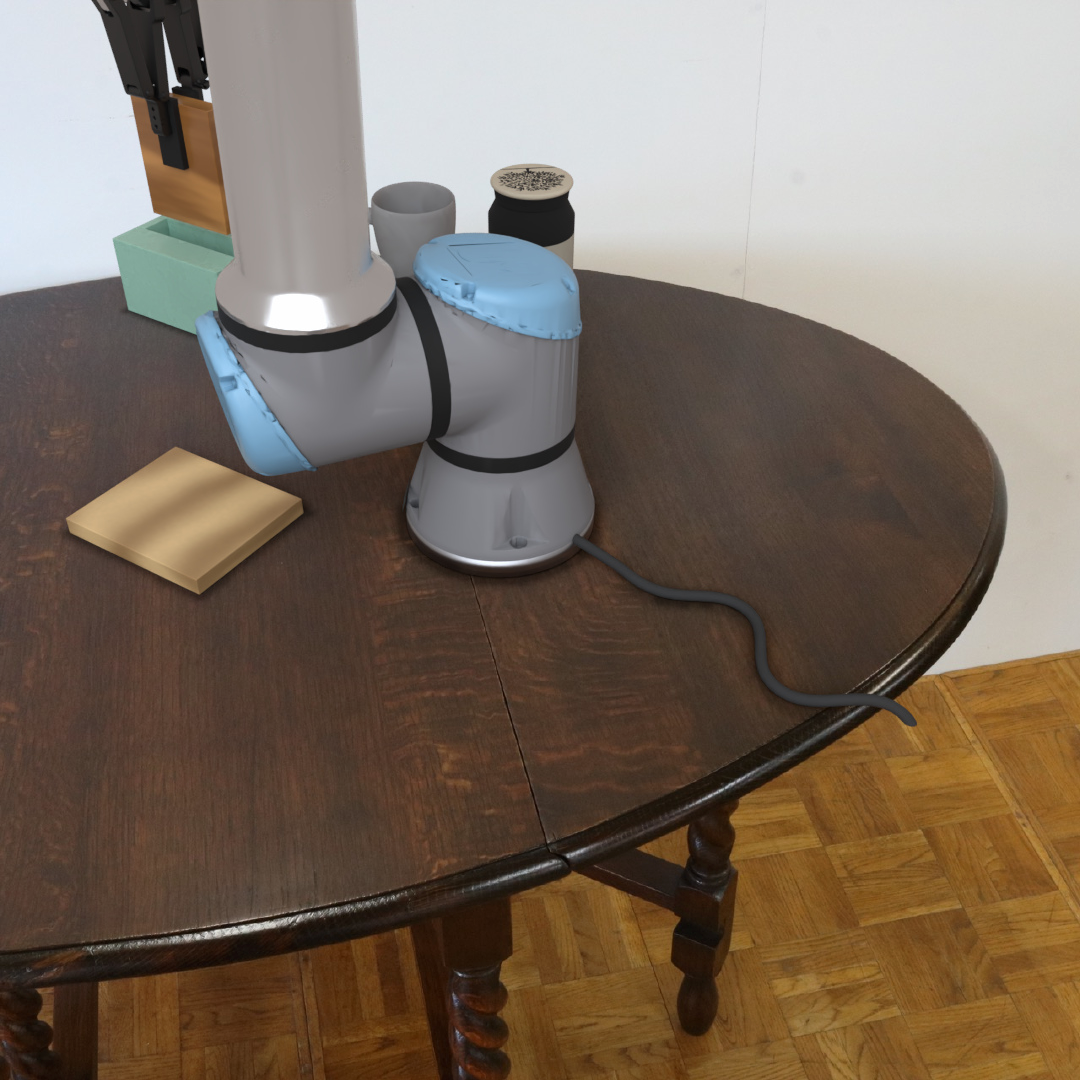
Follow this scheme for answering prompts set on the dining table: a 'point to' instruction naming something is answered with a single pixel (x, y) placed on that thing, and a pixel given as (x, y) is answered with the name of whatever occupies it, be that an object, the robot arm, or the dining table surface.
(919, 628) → the dining table surface
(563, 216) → the travel mug
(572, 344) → the robot arm
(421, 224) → the mug
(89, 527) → the board
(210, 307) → the toaster
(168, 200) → the toast
